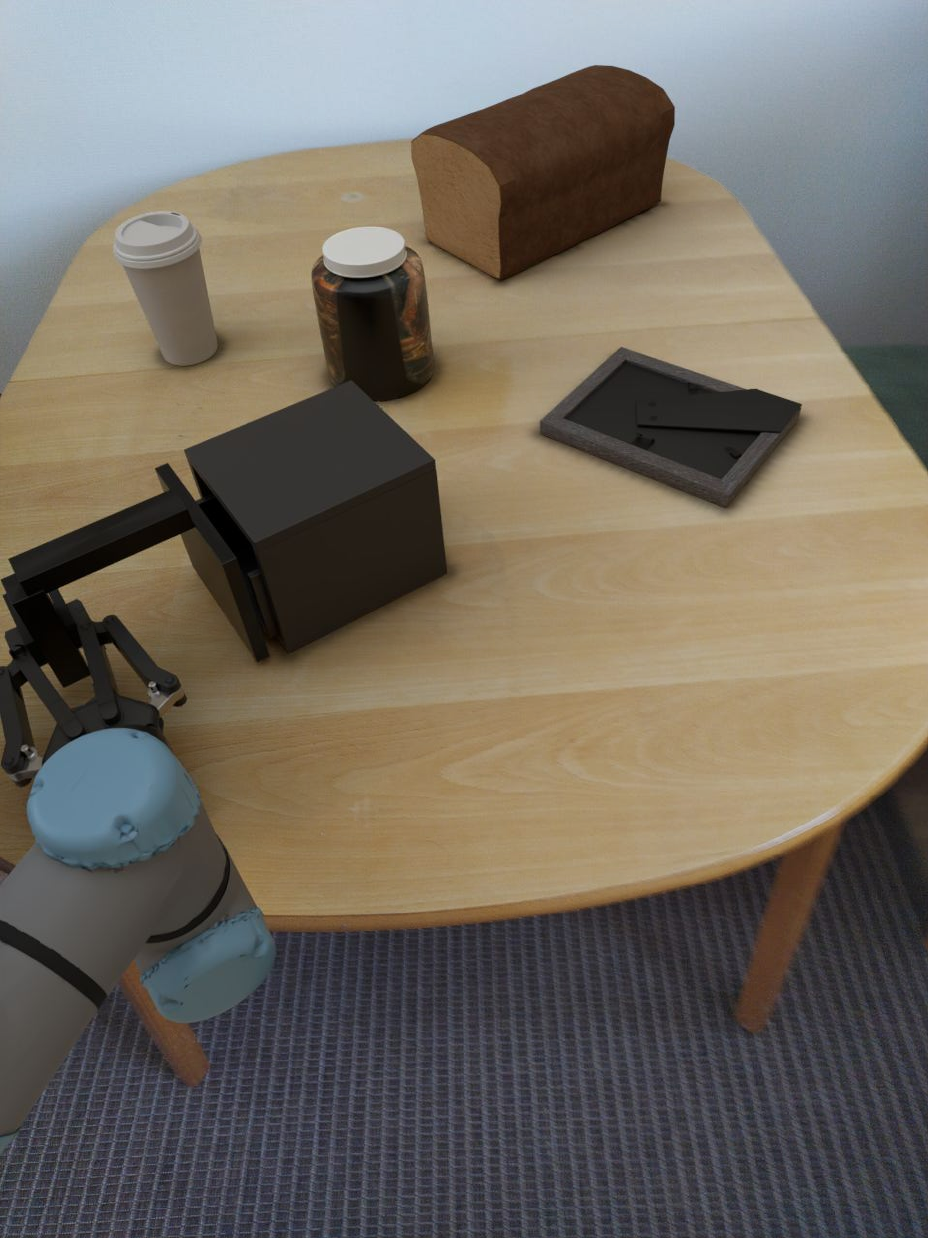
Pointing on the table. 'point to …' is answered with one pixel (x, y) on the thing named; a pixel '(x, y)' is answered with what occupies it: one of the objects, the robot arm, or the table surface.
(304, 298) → the table surface
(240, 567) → the fryer drawer
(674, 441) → the picture frame
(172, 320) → the coffee cup
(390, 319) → the jar
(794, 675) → the table surface
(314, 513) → the box
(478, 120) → the bread
